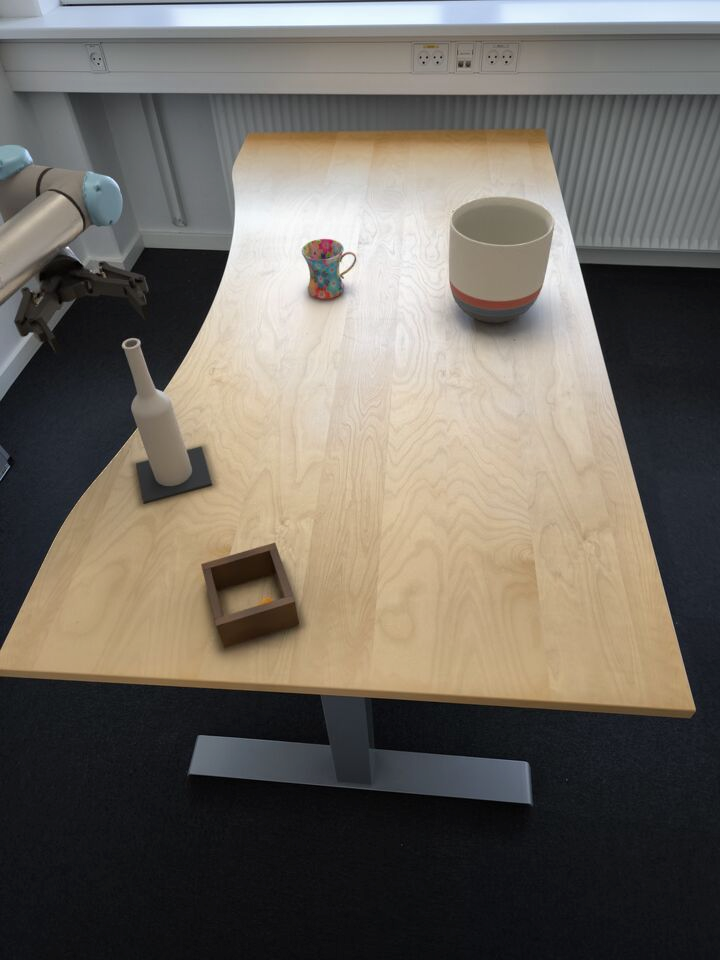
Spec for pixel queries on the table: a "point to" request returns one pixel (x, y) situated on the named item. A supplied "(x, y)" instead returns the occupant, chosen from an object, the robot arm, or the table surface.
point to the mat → (157, 491)
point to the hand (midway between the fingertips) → (102, 329)
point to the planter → (498, 256)
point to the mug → (325, 267)
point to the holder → (255, 618)
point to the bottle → (156, 423)
